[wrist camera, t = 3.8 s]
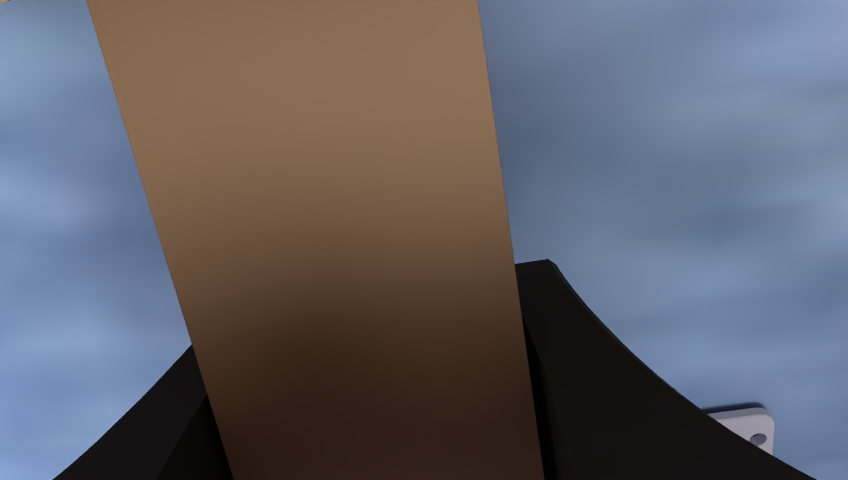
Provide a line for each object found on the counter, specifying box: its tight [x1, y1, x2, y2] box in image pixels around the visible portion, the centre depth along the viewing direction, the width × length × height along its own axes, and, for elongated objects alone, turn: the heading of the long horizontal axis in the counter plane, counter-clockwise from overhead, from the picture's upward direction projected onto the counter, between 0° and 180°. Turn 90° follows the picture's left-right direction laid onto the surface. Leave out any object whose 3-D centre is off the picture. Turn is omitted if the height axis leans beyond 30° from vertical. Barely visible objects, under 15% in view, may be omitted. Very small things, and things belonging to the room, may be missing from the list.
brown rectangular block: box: [86, 0, 544, 480], centre depth 11 cm, size 13×4×6 cm, turn 9°
